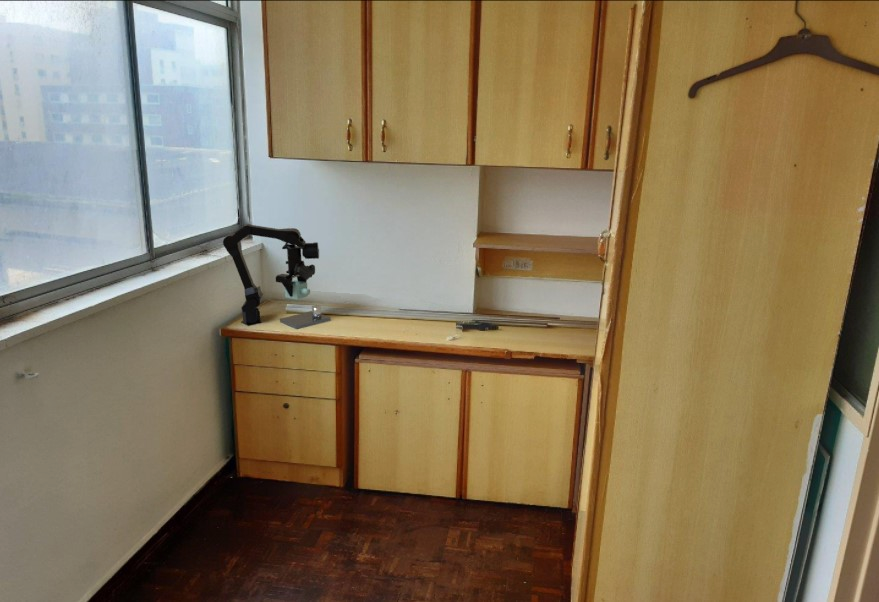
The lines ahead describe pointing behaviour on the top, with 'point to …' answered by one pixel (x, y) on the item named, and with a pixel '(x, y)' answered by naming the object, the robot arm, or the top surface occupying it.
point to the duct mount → (306, 318)
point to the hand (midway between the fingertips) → (296, 294)
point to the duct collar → (298, 290)
